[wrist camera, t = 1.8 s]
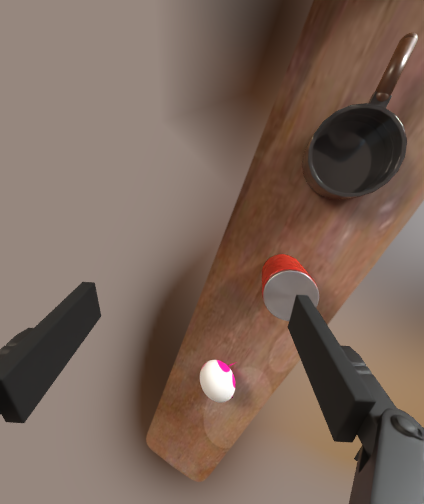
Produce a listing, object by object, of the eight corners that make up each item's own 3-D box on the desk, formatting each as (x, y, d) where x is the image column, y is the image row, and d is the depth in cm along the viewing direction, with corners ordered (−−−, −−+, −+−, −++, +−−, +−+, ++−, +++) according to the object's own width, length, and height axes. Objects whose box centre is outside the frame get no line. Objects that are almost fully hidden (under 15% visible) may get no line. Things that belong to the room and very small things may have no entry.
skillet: (356, 101, 31) (372, 82, 27) (403, 165, 31) (426, 157, 27) (287, 155, 34) (291, 146, 30) (329, 214, 34) (339, 214, 30)
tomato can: (287, 245, 36) (298, 259, 25) (310, 277, 36) (331, 305, 25) (254, 267, 38) (251, 288, 27) (276, 297, 38) (282, 331, 27)
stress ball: (239, 369, 45) (255, 383, 39) (210, 398, 43) (222, 418, 36) (219, 340, 45) (231, 349, 39) (188, 368, 42) (196, 383, 36)
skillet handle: (379, 114, 28) (387, 107, 27) (363, 109, 29) (370, 103, 27) (415, 42, 26) (426, 30, 25) (398, 38, 27) (408, 26, 25)
